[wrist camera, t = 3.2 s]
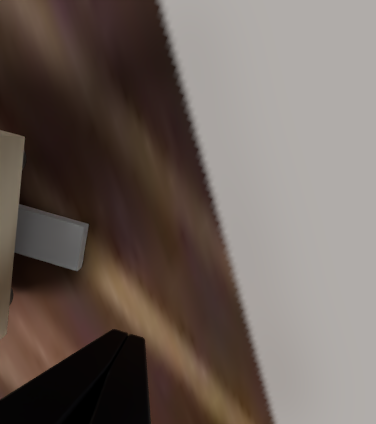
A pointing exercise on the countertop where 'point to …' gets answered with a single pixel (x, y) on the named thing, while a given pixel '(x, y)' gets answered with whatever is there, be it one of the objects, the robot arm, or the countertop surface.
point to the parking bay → (50, 237)
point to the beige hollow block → (9, 215)
